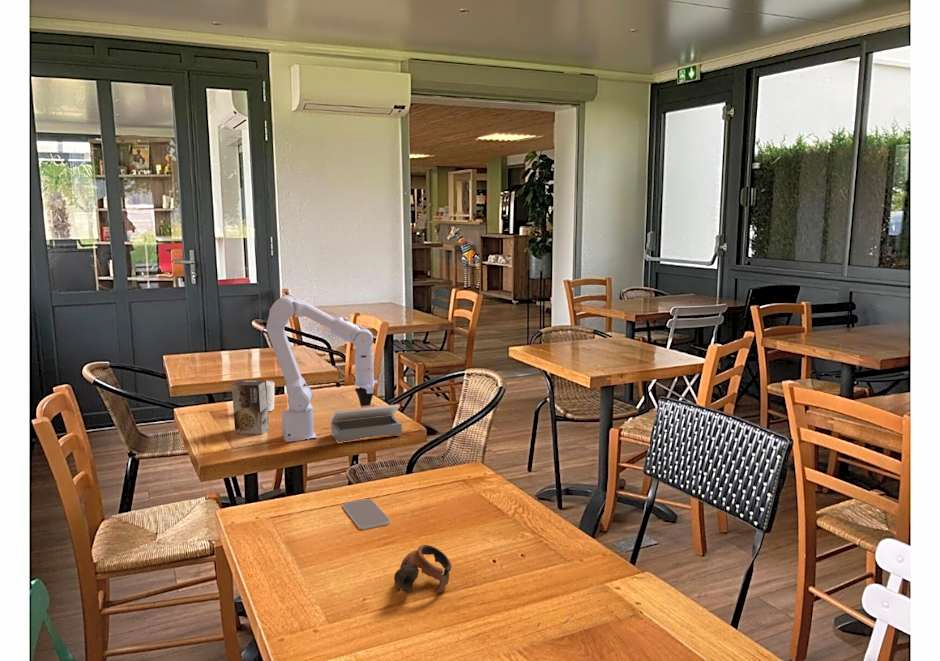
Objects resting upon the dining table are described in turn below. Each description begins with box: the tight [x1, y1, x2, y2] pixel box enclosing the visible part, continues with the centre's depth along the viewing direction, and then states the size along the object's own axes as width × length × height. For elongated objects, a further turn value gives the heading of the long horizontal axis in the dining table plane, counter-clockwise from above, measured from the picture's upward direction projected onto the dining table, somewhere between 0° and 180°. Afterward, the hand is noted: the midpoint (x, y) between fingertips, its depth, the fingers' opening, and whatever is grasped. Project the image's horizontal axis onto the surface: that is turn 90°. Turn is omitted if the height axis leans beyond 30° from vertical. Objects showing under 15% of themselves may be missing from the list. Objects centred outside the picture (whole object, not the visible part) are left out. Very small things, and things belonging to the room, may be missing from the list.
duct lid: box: [330, 403, 401, 423], centre depth 221 cm, size 20×10×1 cm, turn 112°
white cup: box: [266, 380, 275, 412], centre depth 248 cm, size 8×8×10 cm
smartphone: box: [342, 498, 391, 531], centre depth 163 cm, size 7×1×15 cm
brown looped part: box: [393, 544, 452, 593], centre depth 130 cm, size 12×10×8 cm
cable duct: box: [330, 415, 403, 442], centre depth 221 cm, size 20×10×4 cm, turn 112°
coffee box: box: [231, 379, 270, 435], centre depth 224 cm, size 9×6×16 cm
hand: (365, 410), depth 220 cm, fingers closed
